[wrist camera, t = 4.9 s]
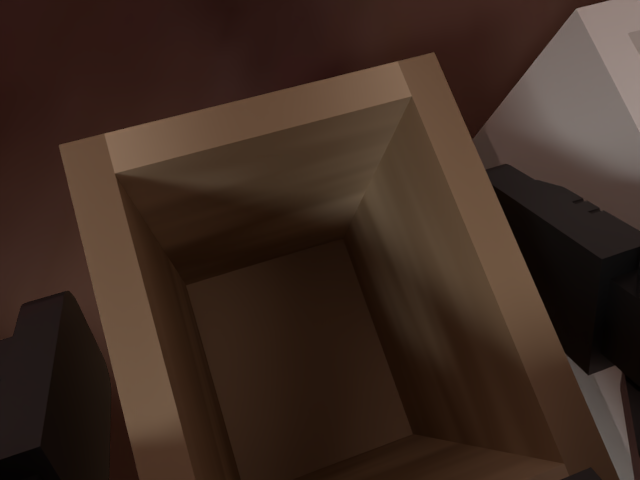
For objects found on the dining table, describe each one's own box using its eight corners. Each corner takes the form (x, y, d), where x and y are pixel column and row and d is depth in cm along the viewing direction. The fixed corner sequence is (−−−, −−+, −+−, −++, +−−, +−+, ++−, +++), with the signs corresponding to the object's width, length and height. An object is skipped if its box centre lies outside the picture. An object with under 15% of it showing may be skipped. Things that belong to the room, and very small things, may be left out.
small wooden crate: (229, 527, 14) (187, 682, 6) (160, 275, 15) (58, 145, 8) (436, 447, 15) (627, 496, 7) (352, 218, 16) (434, 51, 9)
